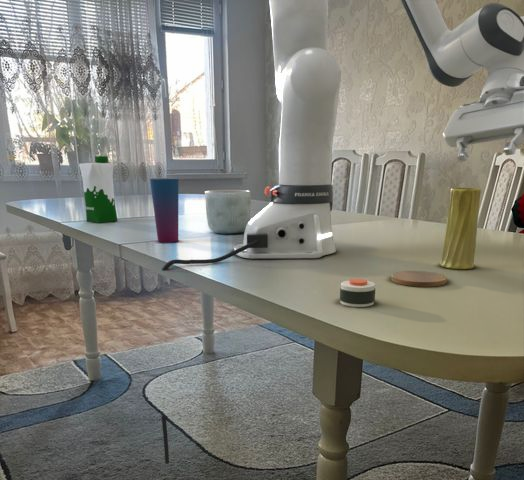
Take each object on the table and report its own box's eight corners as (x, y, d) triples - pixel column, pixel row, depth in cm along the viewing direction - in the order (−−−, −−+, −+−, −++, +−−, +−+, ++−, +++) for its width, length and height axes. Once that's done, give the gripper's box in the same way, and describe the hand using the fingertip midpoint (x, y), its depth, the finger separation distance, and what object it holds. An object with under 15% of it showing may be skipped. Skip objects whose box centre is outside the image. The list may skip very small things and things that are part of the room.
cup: (187, 240, 136) (184, 178, 131) (169, 244, 131) (165, 179, 126) (167, 238, 140) (163, 177, 135) (148, 242, 134) (143, 178, 129)
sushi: (346, 308, 76) (347, 285, 75) (335, 299, 80) (335, 277, 79) (379, 306, 77) (381, 283, 76) (366, 297, 81) (368, 276, 80)
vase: (434, 263, 106) (442, 187, 101) (464, 263, 106) (474, 187, 101) (448, 270, 100) (457, 189, 95) (480, 269, 100) (490, 189, 96)
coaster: (405, 288, 87) (405, 283, 87) (383, 276, 95) (383, 272, 95) (456, 285, 88) (457, 280, 88) (430, 274, 97) (431, 269, 96)
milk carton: (121, 220, 178) (115, 156, 171) (97, 223, 171) (90, 156, 164) (105, 219, 183) (99, 156, 176) (82, 221, 176) (74, 156, 170)
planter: (219, 228, 158) (217, 189, 154) (258, 230, 153) (257, 190, 150) (198, 234, 147) (196, 192, 143) (239, 236, 143) (238, 193, 139)
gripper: (449, 97, 114) (429, 153, 111) (552, 73, 99) (532, 138, 97) (461, 116, 118) (442, 171, 116) (562, 96, 103) (543, 159, 101)
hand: (484, 156), depth 106 cm, fingers open, 8 cm apart
